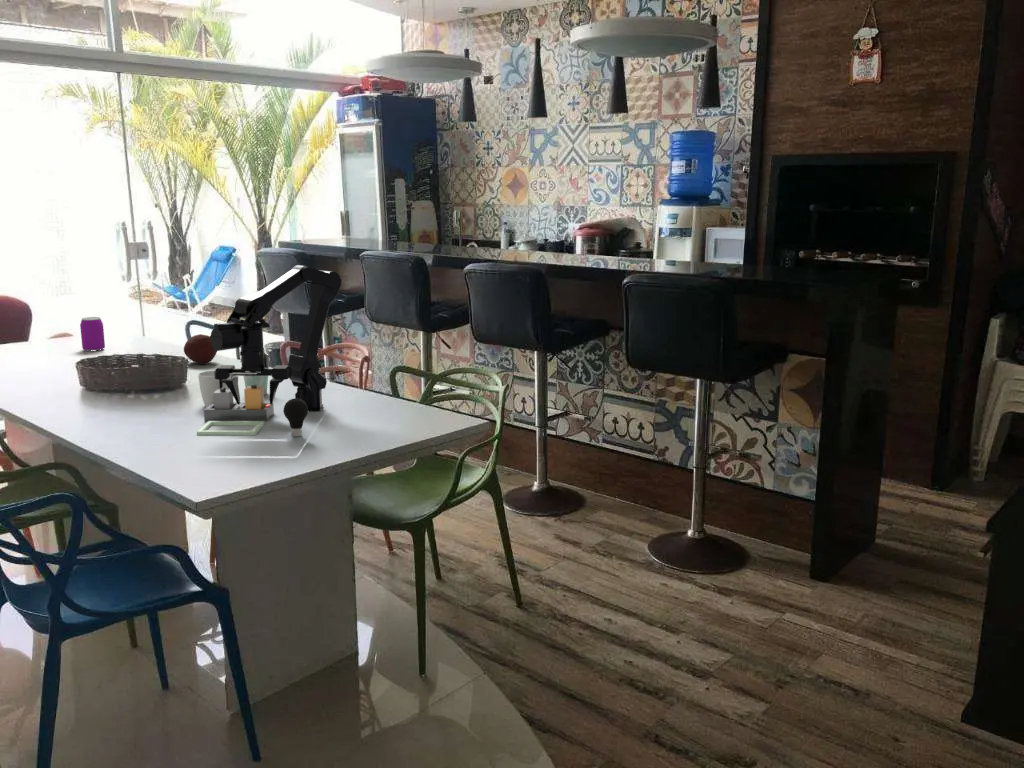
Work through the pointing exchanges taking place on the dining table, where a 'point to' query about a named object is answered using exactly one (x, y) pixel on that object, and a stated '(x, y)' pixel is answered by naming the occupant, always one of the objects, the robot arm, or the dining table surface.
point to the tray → (204, 431)
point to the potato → (199, 349)
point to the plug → (254, 397)
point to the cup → (209, 386)
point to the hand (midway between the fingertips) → (255, 404)
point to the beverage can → (92, 333)
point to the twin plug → (223, 399)
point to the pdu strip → (238, 413)
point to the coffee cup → (257, 380)
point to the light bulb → (296, 415)
